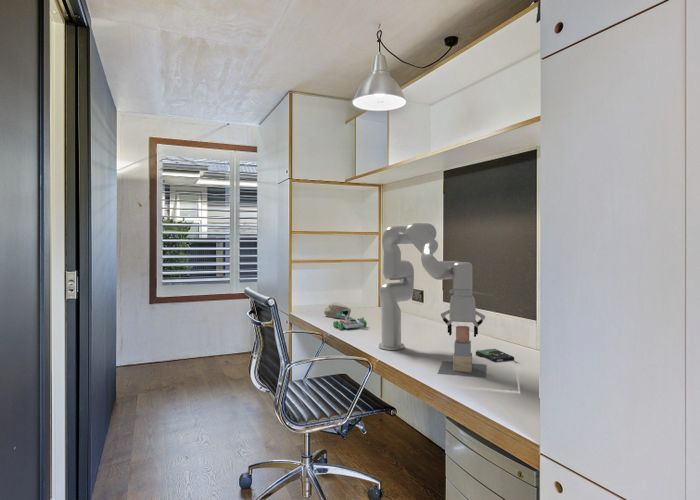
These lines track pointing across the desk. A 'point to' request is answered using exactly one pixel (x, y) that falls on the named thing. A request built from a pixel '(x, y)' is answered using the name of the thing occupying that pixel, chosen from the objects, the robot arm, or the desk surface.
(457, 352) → the slate grey block
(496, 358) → the disk drive
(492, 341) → the desk surface
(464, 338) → the brown egg shape
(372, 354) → the desk surface
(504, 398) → the desk surface
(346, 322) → the robot kit
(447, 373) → the charcoal mat
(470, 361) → the pale oak block
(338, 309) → the decorative stone
